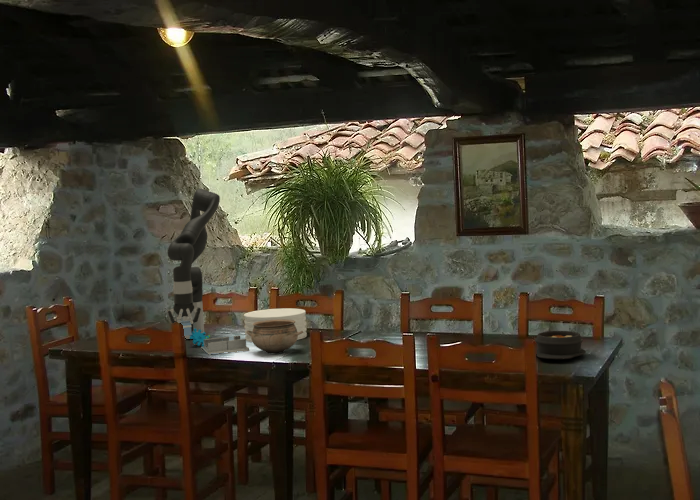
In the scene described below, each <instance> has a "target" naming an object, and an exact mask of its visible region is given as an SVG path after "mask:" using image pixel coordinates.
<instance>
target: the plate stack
mask: <svg viewBox="0 0 700 500" xmlns="http://www.w3.org/2000/svg"><path fill="white" fill-rule="evenodd" d="M306 314H307V313H306V309H302V308H286V307H285V308H283V307H282V308H269V309H259V310H254V311H249V312H246V313H244V314H243V319H244V321H243V323H244V324H245V325H244V330H245V331H244V334H245V337H244V339H246V342H249V343H253V342H252V338H251V336H249V335H248V334H247V333H246V332H247V331H248V330H249V331H253V328H254V326H253V323H255V322H259V321H266V320H279V319H286V320H294V321H295V323H294V325H295V327H296V329H297V332H300V331H303V333H302V334H300V335H298V338H297V340H301V339H305V338H306V337H307V336H308V334H307V327H306V326H307V321H306V320H307V316H306Z"/></svg>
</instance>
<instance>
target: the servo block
mask: <svg viewBox="0 0 700 500" xmlns="http://www.w3.org/2000/svg"><path fill="white" fill-rule="evenodd" d="M180 323H181V324H182V325H183V329H184V336H187V335H192V334H191V327H192V326H191V323H190V322H189V321H183V319H181V320H180ZM184 336H183V337H184Z"/></svg>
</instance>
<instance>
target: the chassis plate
mask: <svg viewBox="0 0 700 500" xmlns="http://www.w3.org/2000/svg"><path fill="white" fill-rule="evenodd" d="M200 348H203V349H204V350H205V351H206V352H207V353H208V354H211V353H224V352H235V353H238V352H237V351H243V352H250V347H248V346H247V341H246V339H245V338H241V335H233V339H230V337H229V336H222V337H213V338H211V337H210V338H209V339H204V346H202V345H201V347H200ZM208 354H207V355H208Z"/></svg>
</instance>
